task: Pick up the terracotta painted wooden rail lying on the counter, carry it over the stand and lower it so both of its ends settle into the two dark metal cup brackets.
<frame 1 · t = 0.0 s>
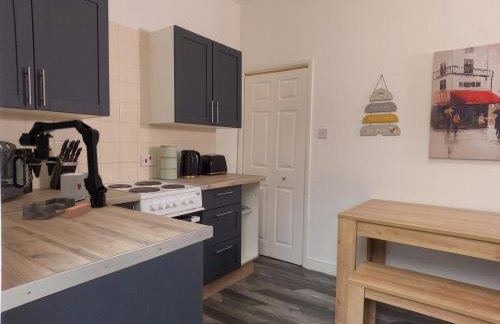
hand: (43, 176, 159), 15 cm above the counter, tool pointing down, fingers open, 9 cm apart
skincare box: (90, 196, 188), on the counter
supplement box: (73, 201, 173), on the counter
bracket stand: (50, 213, 142), on the counter
rail: (78, 214, 142), on the counter
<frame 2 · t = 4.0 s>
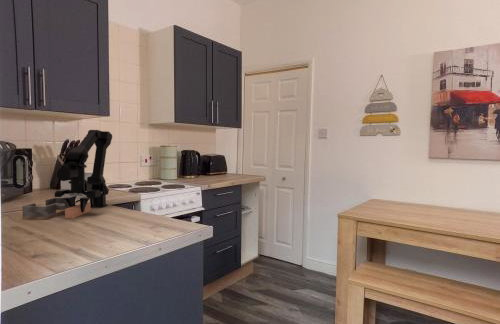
hand: (78, 212, 142), 1 cm above the counter, tool pointing down, fingers closed on rail, 3 cm apart
rail: (78, 214, 142), on the counter, touching gripper
everything else where it was.
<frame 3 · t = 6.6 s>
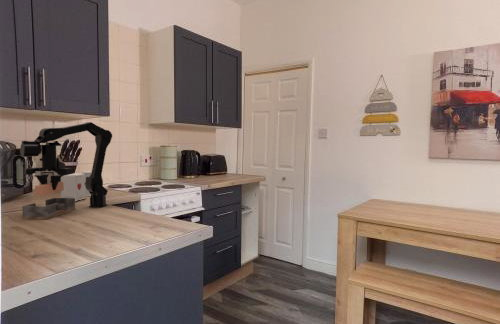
hand: (50, 190, 142), 11 cm above the counter, tool pointing down, fingers closed on rail, 3 cm apart
rail: (50, 192, 142), point 10 cm above the counter, touching gripper
everything else where it was.
when the fingers open (5 cm above the counter, at t = 9.0 s): rail stays where it is, resting on bracket stand.
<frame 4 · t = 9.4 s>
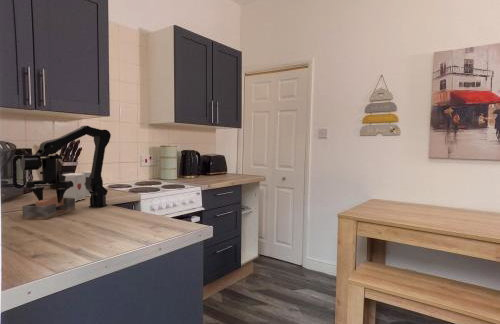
hand: (50, 202, 142), 5 cm above the counter, tool pointing down, fingers open, 8 cm apart
rail: (50, 207, 142), point 3 cm above the counter, touching bracket stand
everything else where it was.
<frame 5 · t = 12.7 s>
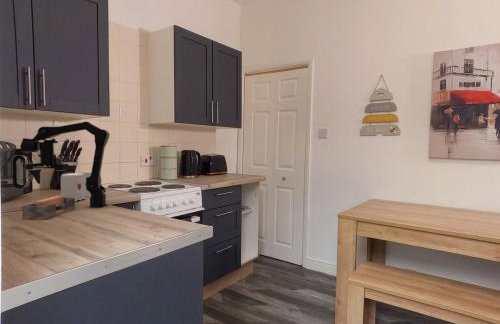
hand: (48, 183, 153), 12 cm above the counter, tool pointing down, fingers open, 9 cm apart
nothing on the counter moved.
at the end: rail 0.1 cm off-centre on the bracket stand, point 3.0 cm above the bracket stand's base; rail tilted 0°; the gripper is holding nothing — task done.
